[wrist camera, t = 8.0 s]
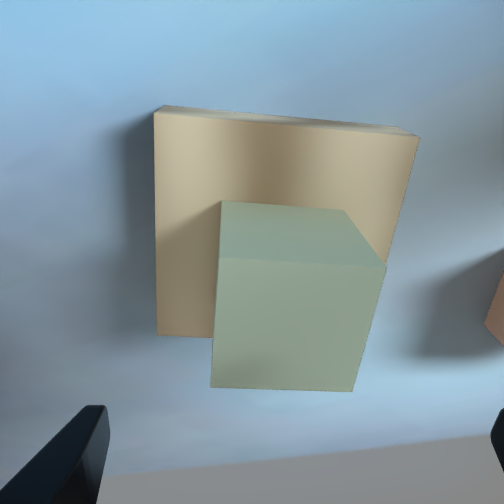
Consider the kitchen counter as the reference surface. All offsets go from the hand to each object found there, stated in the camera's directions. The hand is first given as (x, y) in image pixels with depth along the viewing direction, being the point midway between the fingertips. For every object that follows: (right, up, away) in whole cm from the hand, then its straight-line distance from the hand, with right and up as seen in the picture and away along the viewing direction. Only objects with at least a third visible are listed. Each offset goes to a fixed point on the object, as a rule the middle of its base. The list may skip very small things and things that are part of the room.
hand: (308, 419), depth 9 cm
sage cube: (0, +3, +8) cm, 9 cm away
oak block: (0, +5, +11) cm, 12 cm away
